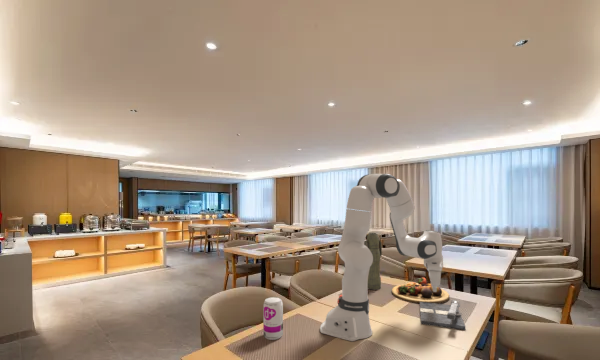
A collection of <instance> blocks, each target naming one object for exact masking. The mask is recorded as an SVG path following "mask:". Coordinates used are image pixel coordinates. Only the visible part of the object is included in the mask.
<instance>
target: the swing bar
mask: <svg viewBox="0 0 600 360" xmlns="http://www.w3.org/2000/svg"><path fill="white" fill-rule="evenodd" d="M450 305H451V307H450V310H449V312H448V314H447V318H448V319H453V320H455V315H456V312H457V308H458V307H459V308H461V301H459V300H457V299H456V300H455V299H452V300H450Z"/></svg>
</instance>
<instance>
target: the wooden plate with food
mask: <svg viewBox="0 0 600 360" xmlns="http://www.w3.org/2000/svg"><path fill="white" fill-rule="evenodd" d="M391 293H392V295H393V296H394V297H395V298H396V299H398V300H402V301H405V302H409V303H413V304H419V305H420V302H427V303H436V304H445V303H447V302H448V301H449V299H450V294H449V292H448V291H446V290H444V289H442V288H441V286H440V287H437V292H433V290H432V286H431V283H428V282H427V279H426V278H425V277H420V278H418V280H417V282H413V281H409V282H407V283H404V284H398V285H396V286H393V287H392V289H391Z"/></svg>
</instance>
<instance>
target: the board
mask: <svg viewBox="0 0 600 360" xmlns="http://www.w3.org/2000/svg"><path fill="white" fill-rule="evenodd" d="M450 307H451V304H445V303H441V304H436V303H427V302H420V304H419V312H420V314H419V315H420V323H421V325H425V326H433V327H440V328H447V329H448V328H449V329H454V330H455V329H456V330H461V331H466V325H465V322H464V320H463V317H462V315H463V313H462V312H461V311H460V307H458V308H457V312H456V315H455V320H453V319H448V318H447V314H448V312H449V310H450Z"/></svg>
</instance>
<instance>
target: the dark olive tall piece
mask: <svg viewBox="0 0 600 360" xmlns="http://www.w3.org/2000/svg"><path fill="white" fill-rule="evenodd" d="M382 244H383V243H382V241H381V240H380V237H379V234H378V233H377V232H368V233H367V235H366V239H365V241H364V245H365V246H367V247H368V248H369V250H370V251H371V253H372V255H373V262H372V265H371V266H370V269H369V275H368V289H369V290H373V291H378V290H381V289H382V287H381V285H382V277H381V270H380V269H381V267H380V265H381V264H380V262H381V257H382V255H383V250H382V247H383V245H382Z"/></svg>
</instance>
